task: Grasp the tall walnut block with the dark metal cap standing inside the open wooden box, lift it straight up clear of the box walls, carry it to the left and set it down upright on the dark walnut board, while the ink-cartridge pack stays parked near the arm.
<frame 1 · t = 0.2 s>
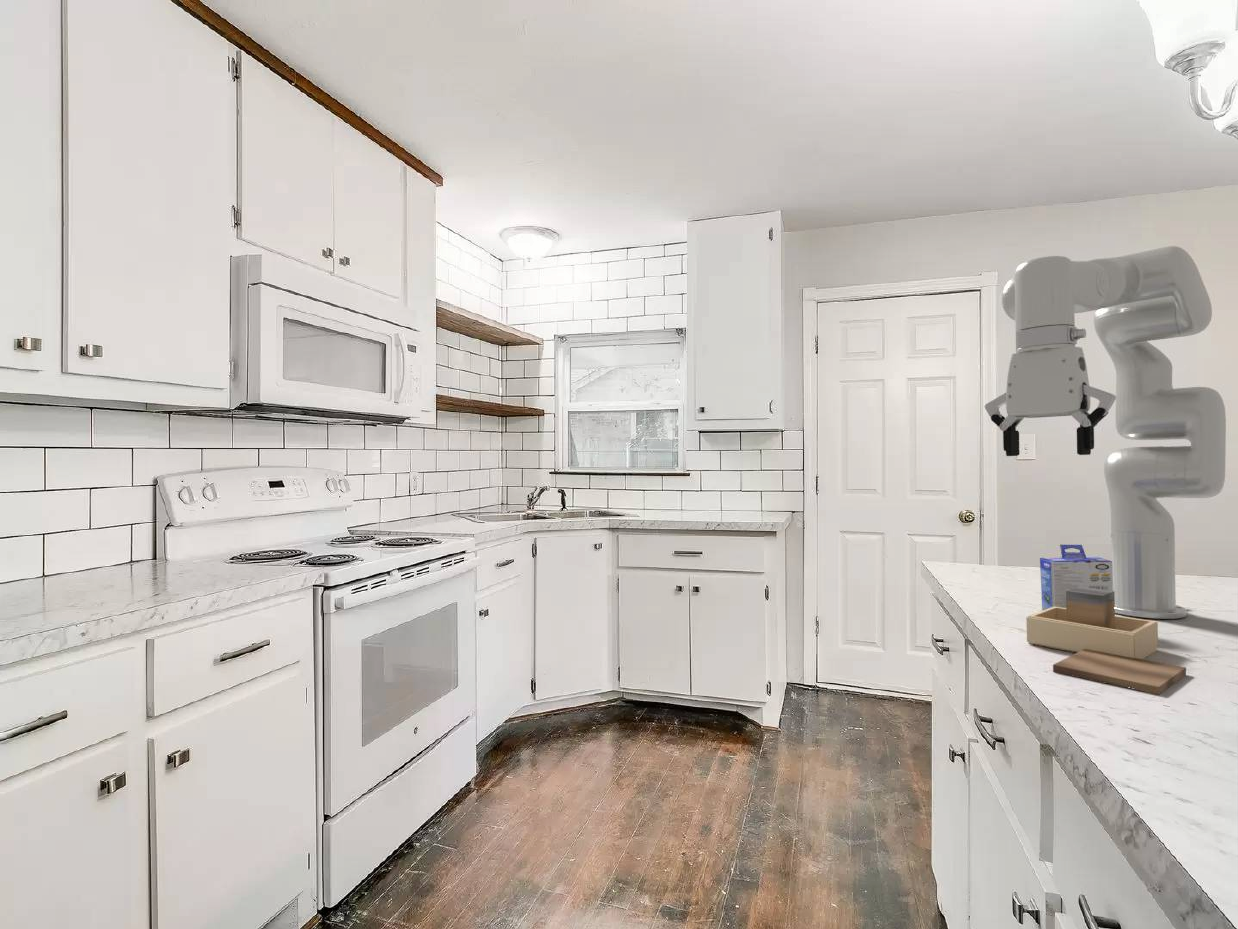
hand: (1047, 455, 100), 31 cm above the countertop, tool pointing down, fingers open, 9 cm apart
block: (1090, 619, 105), in the wooden box
board: (1118, 673, 93), on the countertop
wooden box: (1091, 647, 105), on the countertop
ink cartridge box: (1076, 628, 117), on the countertop
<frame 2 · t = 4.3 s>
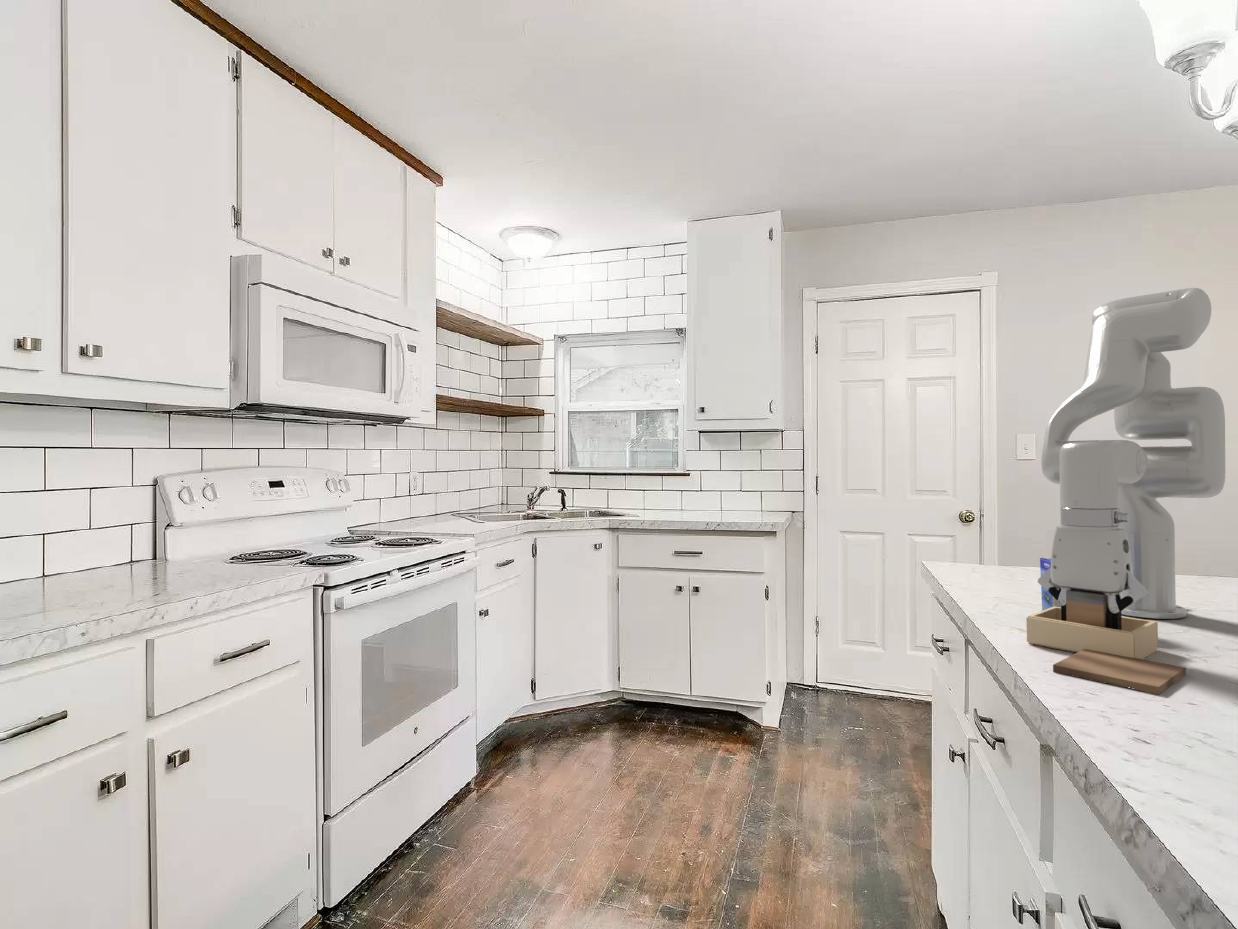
hand: (1090, 631, 105), 2 cm above the countertop, tool pointing down, fingers closed on block, 5 cm apart
block: (1090, 619, 105), in the wooden box, touching gripper
everything else where it was.
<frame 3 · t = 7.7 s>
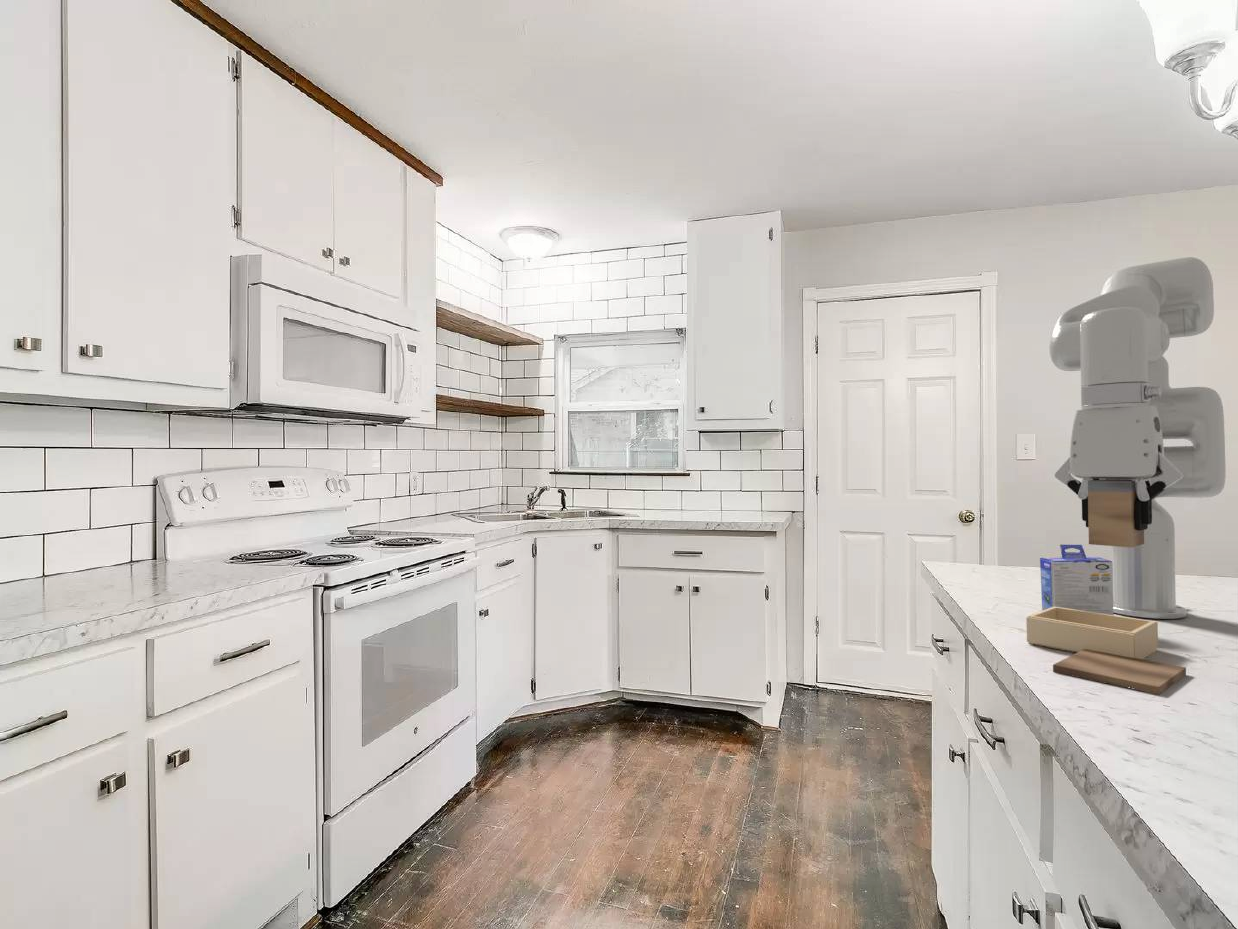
hand: (1116, 526, 92), 21 cm above the countertop, tool pointing down, fingers closed on block, 5 cm apart
block: (1115, 512, 92), point 23 cm above the countertop, touching gripper
everything else where it was.
when the fingers open (5 cm above the countertop, at t = 11.3 s): block drops 1 cm, resting on board.
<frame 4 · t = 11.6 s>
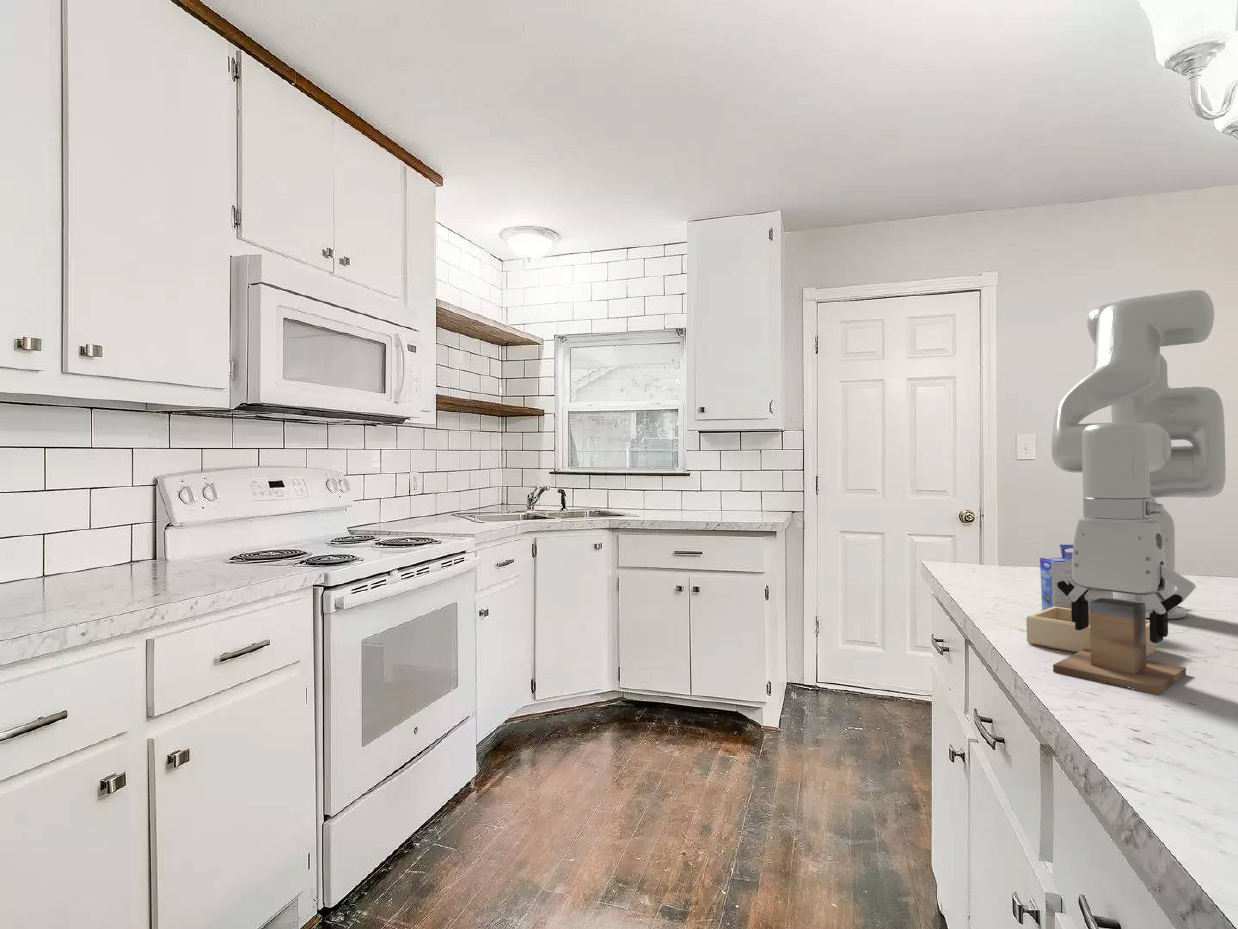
hand: (1118, 634, 92), 6 cm above the countertop, tool pointing down, fingers open, 8 cm apart
block: (1118, 634, 93), on the board, point 6 cm above the countertop
everything else where it was.
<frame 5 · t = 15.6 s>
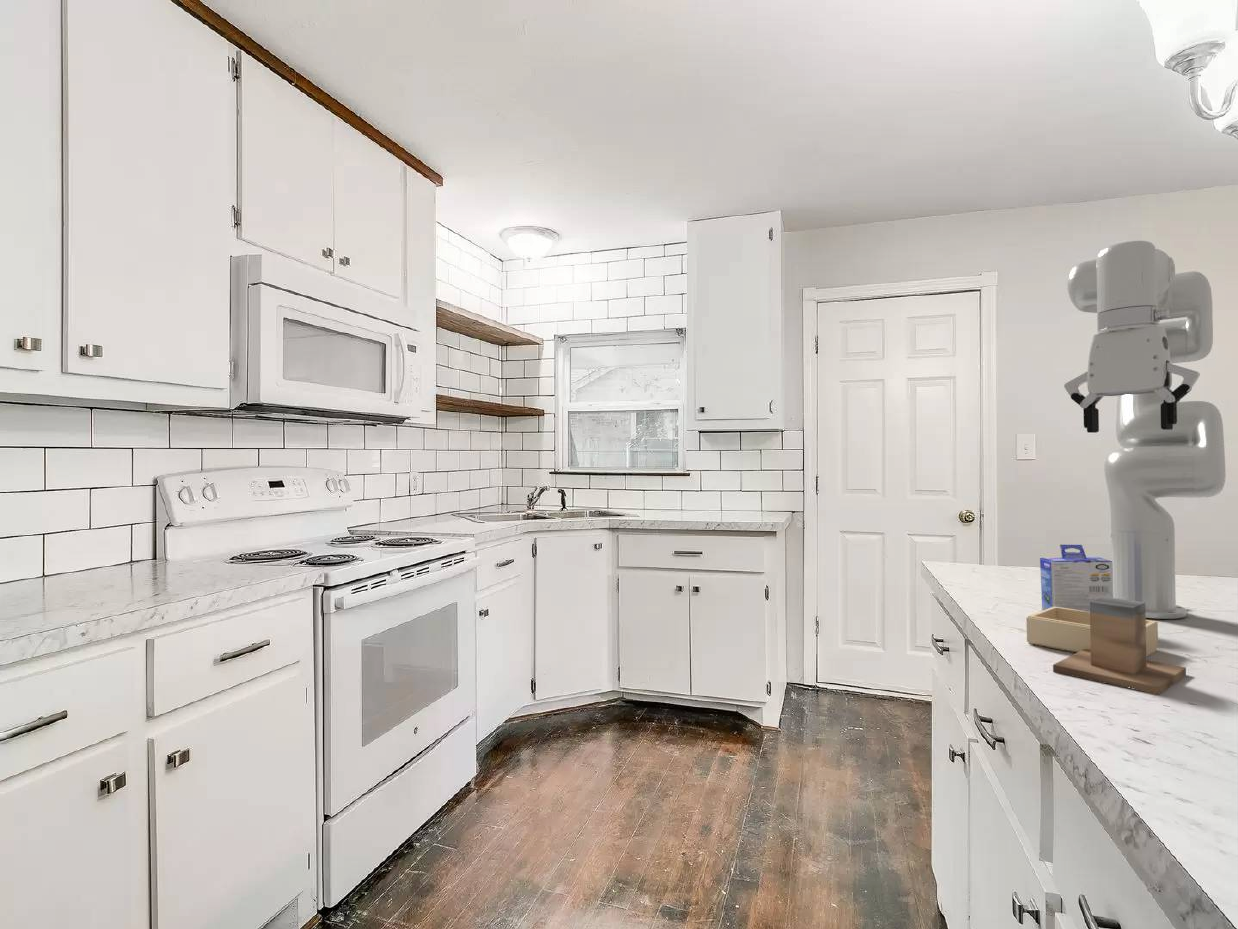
hand: (1128, 431, 104), 34 cm above the countertop, tool pointing down, fingers open, 9 cm apart
nothing on the countertop moved.
at the end: block inside the target area on the board (0.1 cm from its centre), point 5.5 cm above the board's base; block tilted 0°; the gripper is holding nothing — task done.
